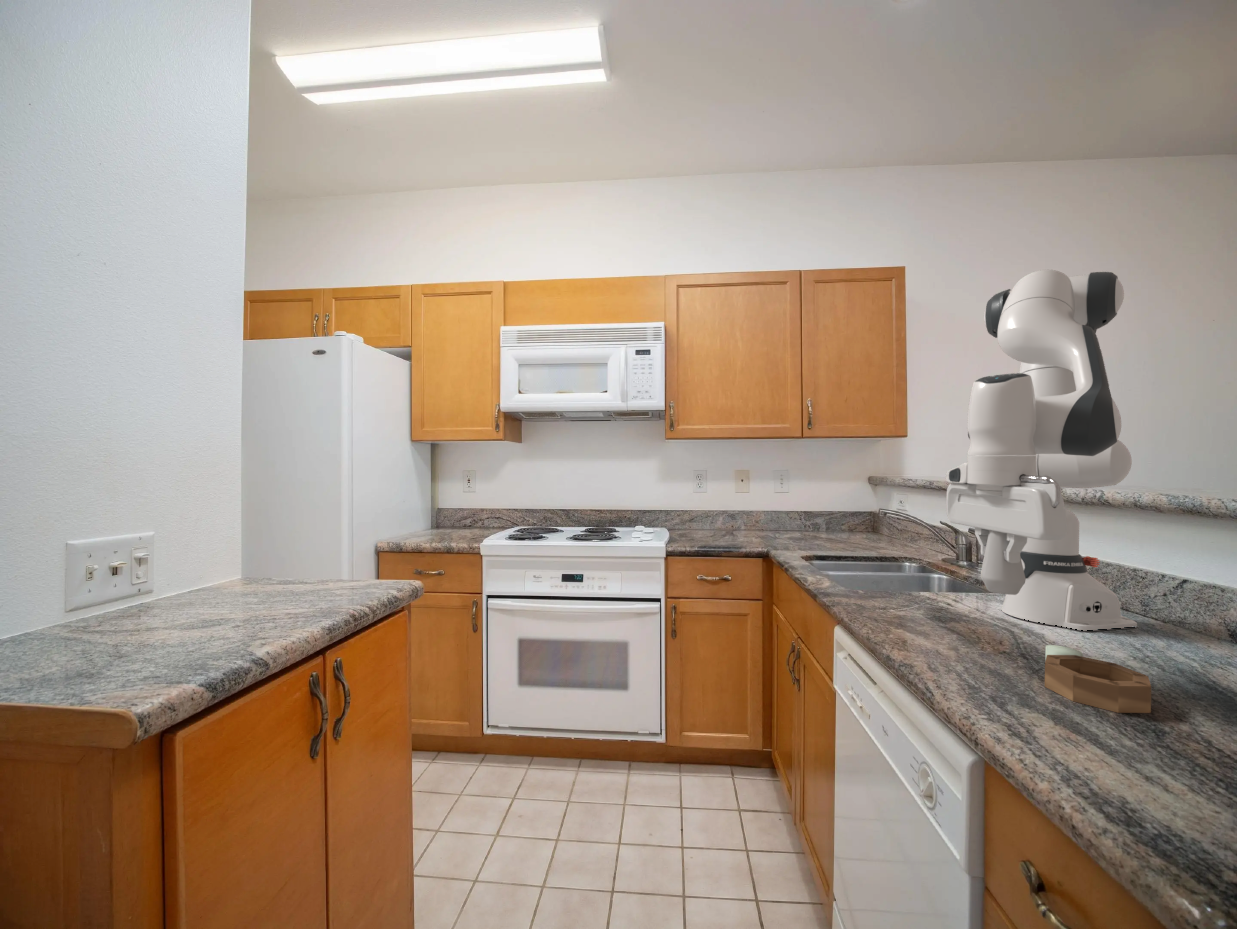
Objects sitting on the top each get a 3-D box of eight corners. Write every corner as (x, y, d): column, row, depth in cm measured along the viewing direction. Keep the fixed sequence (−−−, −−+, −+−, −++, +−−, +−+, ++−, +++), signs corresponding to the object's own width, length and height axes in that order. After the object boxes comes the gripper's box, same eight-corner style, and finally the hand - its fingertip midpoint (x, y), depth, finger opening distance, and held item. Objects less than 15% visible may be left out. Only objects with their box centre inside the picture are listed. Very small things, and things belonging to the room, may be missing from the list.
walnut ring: (1094, 678, 75) (1094, 655, 75) (1173, 713, 64) (1174, 686, 64) (1026, 677, 75) (1026, 654, 75) (1095, 712, 64) (1095, 685, 64)
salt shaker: (1034, 597, 76) (1033, 513, 76) (992, 595, 77) (991, 512, 77) (1012, 587, 82) (1011, 509, 82) (973, 586, 83) (972, 509, 83)
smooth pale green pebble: (1064, 663, 81) (1064, 645, 81) (1090, 674, 77) (1090, 655, 77) (1037, 663, 81) (1038, 644, 81) (1062, 674, 76) (1063, 655, 76)
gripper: (1081, 476, 69) (1080, 574, 69) (973, 471, 90) (972, 547, 90) (1037, 476, 69) (1036, 574, 69) (939, 472, 89) (938, 547, 90)
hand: (999, 559), depth 80 cm, fingers closed on salt shaker, 3 cm apart
